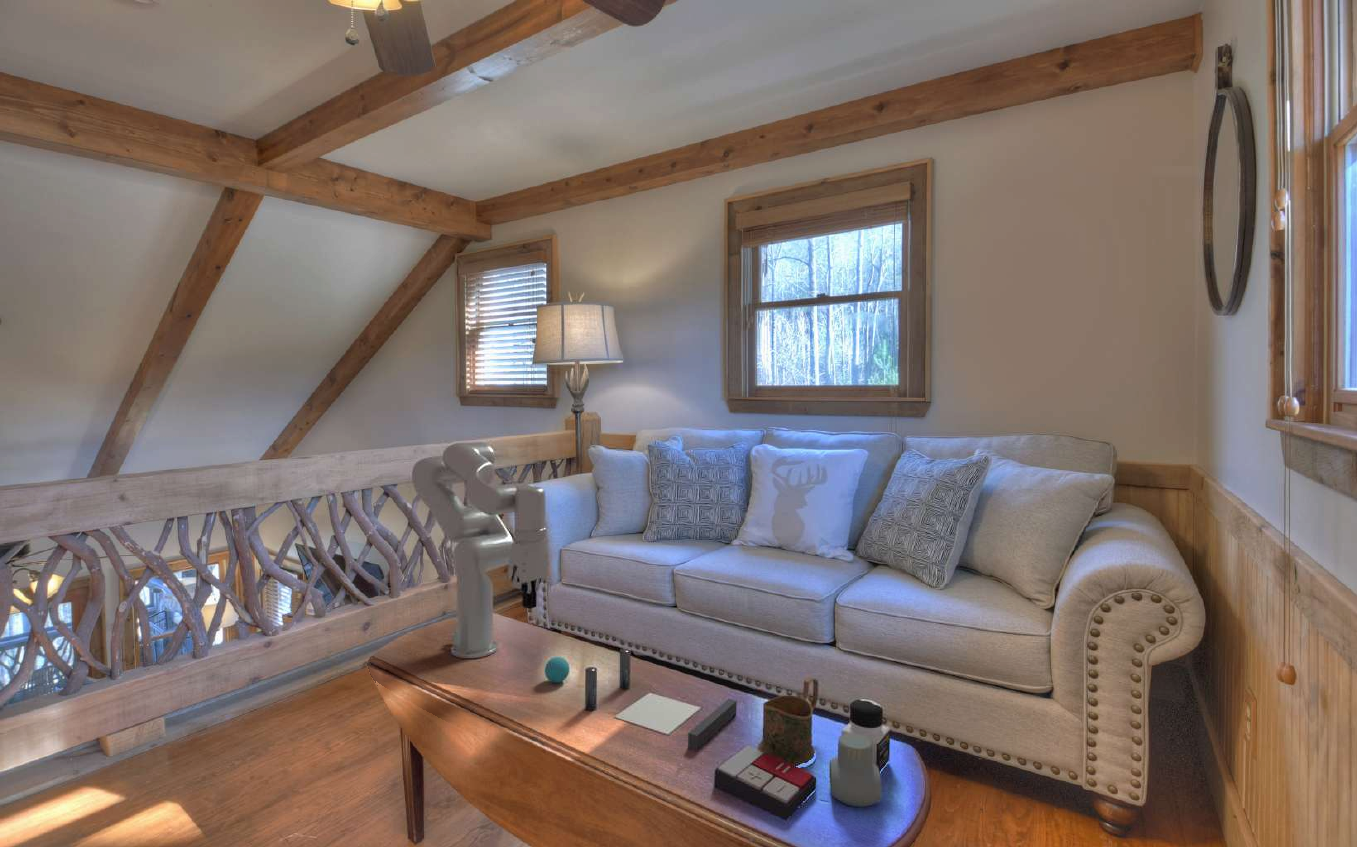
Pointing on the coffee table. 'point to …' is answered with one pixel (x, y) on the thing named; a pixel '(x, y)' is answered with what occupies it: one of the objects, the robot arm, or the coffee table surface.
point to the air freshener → (855, 772)
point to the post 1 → (590, 689)
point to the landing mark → (658, 713)
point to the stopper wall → (711, 724)
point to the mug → (789, 726)
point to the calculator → (765, 781)
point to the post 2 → (625, 669)
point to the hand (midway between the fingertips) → (529, 606)
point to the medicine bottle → (870, 728)
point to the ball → (557, 669)
